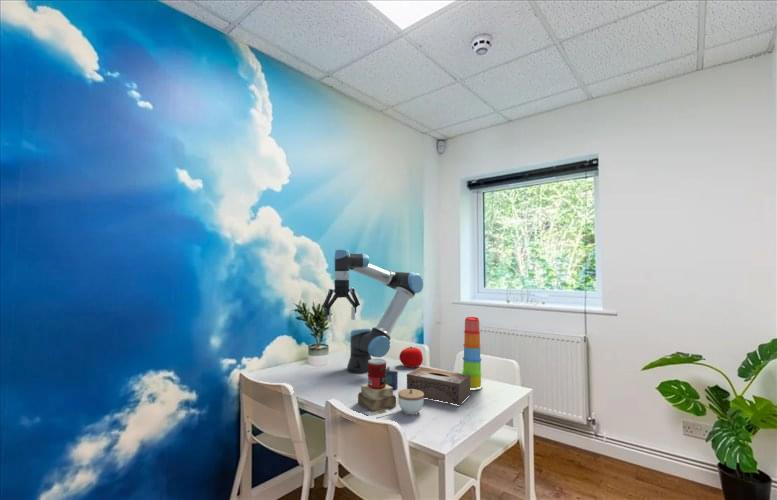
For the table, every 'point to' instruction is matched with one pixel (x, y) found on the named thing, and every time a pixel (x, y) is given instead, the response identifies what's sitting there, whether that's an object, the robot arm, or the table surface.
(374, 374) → the canned food
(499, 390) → the table surface
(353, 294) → the robot arm
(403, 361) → the tomato
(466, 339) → the stacking cups
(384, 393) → the folded towel stack
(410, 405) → the lidded jar
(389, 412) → the page
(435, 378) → the tissue box cover
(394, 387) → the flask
